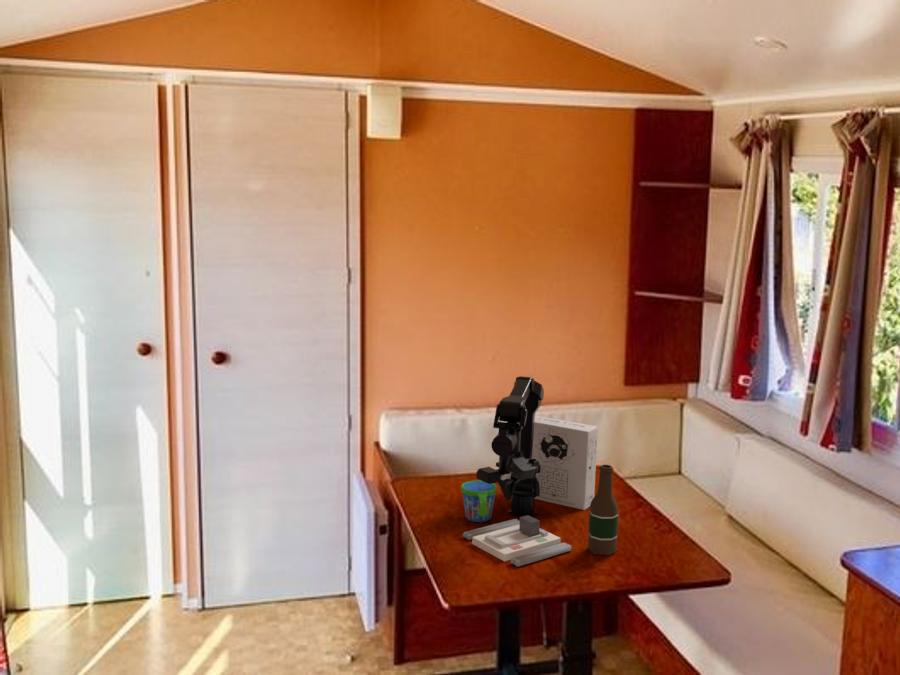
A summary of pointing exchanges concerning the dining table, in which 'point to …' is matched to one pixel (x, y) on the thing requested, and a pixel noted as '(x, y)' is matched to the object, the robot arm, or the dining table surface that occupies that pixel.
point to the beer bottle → (603, 516)
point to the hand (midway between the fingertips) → (508, 500)
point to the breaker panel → (513, 542)
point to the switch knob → (529, 525)
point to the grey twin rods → (523, 558)
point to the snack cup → (478, 500)
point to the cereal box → (565, 461)
